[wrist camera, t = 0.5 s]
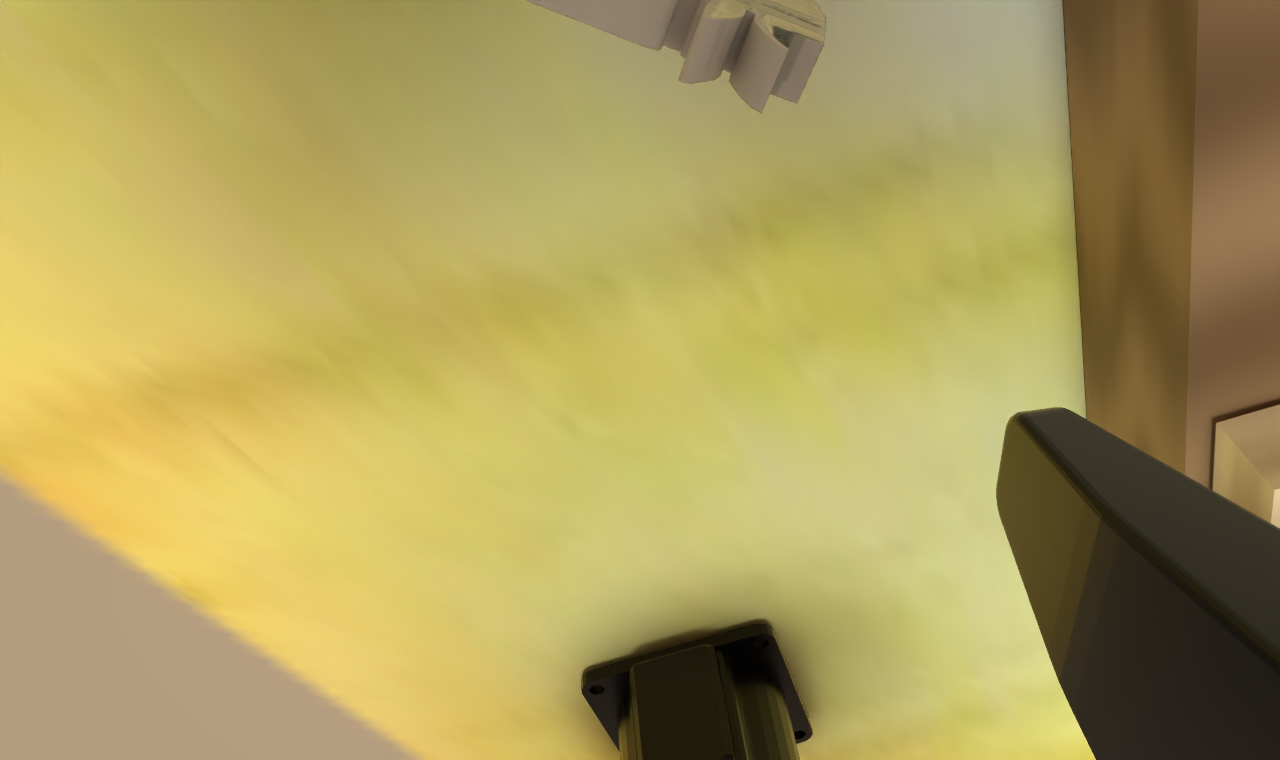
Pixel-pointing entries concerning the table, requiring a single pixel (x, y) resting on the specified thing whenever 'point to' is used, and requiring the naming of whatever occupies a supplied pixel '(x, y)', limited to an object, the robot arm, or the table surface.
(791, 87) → the caliper
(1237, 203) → the toolbox
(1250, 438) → the tan rectangular block
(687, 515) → the table surface
